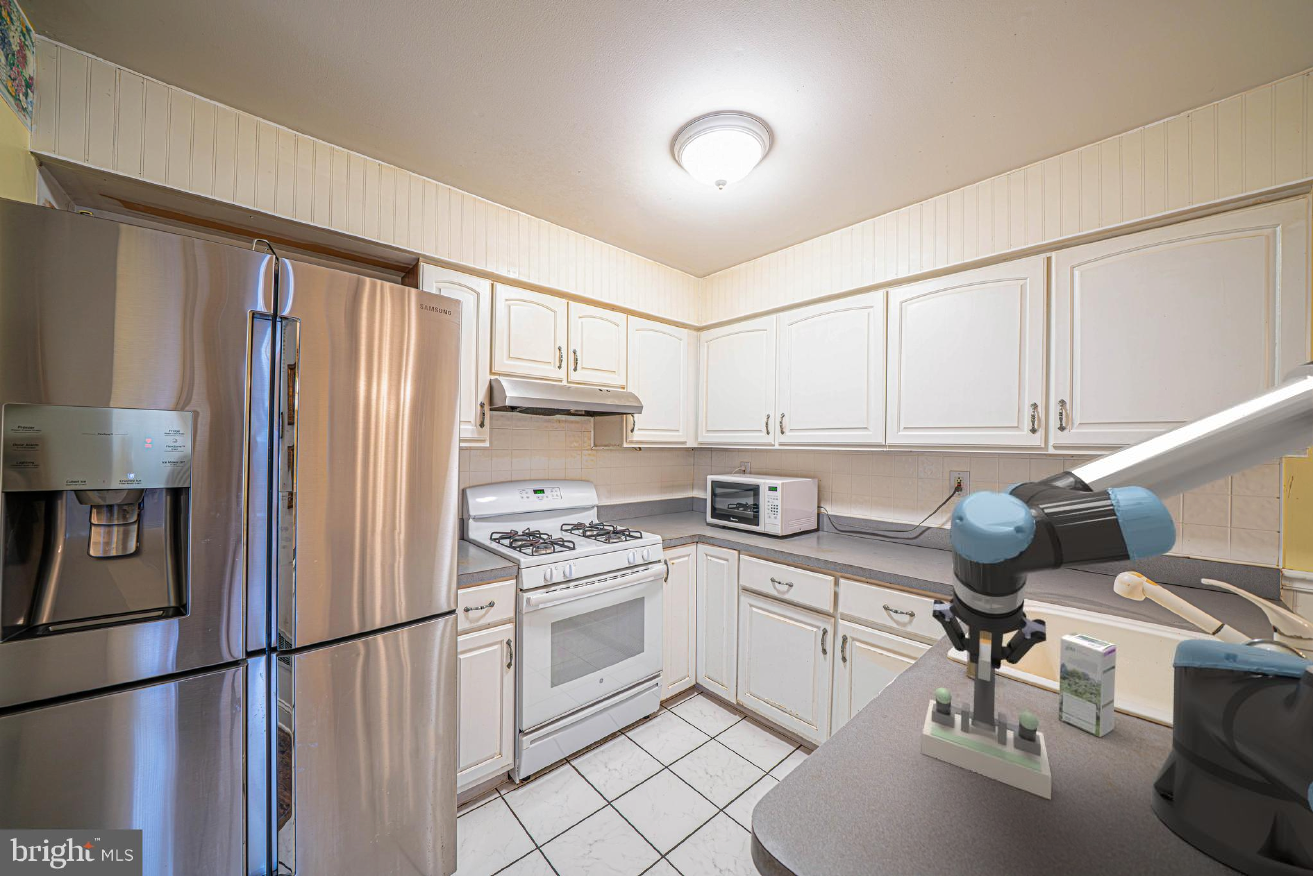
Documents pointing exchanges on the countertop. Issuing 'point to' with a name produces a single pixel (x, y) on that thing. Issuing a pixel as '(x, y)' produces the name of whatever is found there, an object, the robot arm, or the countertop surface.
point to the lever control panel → (988, 745)
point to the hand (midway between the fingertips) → (984, 671)
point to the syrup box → (1087, 683)
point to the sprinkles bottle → (970, 665)
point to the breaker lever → (984, 700)
